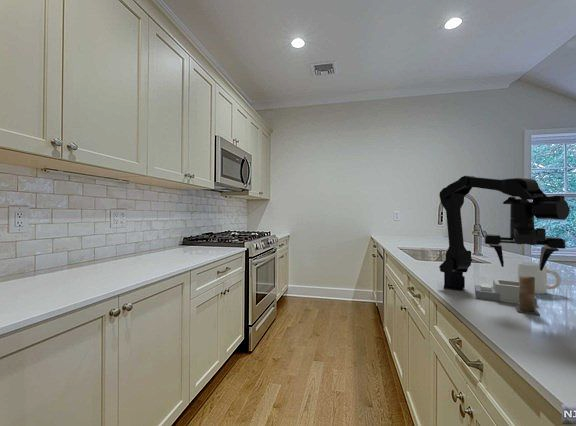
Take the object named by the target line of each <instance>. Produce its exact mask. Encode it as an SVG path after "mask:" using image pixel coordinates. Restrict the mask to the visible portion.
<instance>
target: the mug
mask: <svg viewBox="0 0 576 426" xmlns="http://www.w3.org/2000/svg"><path fill="white" fill-rule="evenodd" d="M539 264H540V262H532V261H531V262H530V261H519V262H517V281H519V276H521V275H523V276H532V277H535V295H536V294H538V295H544V294H546V293H547V292H548V291H547V290H554V289H557V288H558V287H559V286H560V285H561V282H562V278H561V276H560V274H559V273H558V272H557V271H556V270H554V269H551V268H548V266H547V264H545V266H544V268H543V270H542V271H540V268H539ZM548 274H551V275H553V276H554V278H555V283H553V284H551V285H549V284H548Z"/></svg>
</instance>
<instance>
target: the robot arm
mask: <svg viewBox="0 0 576 426" xmlns="http://www.w3.org/2000/svg"><path fill="white" fill-rule="evenodd" d="M473 188H478V189H484V190H493V191H498V192H500V193H502V194H504V195H507V196H509V197H508V198H507V199H506V200H504V201H503V202H502V204H503V205H509V206H510V211H509V212H510V213H509V215H510V217H509V218H510V219H509V221H510V222H509V226H510V227H509V228H510V229H509V237H505V236H501V235H500V234H490V233H489V234H485V235H484V244H485V245H489V247H490V248H494V249H493V250H495V252H496V254H497V257H498V260H499V262H500V263H499V264H500V265H501V268H504V266H505V265H504V264H505V263H504V256H503V247H502V245H501V243H503V244H516V245H530V246H535V245H537V246H541V249H540V255H539V263H540V264H539V268H540V271H542V270H543V268H544V266H545V265H547V264H546V263H547V262H548V260H549V258H550V257H551V255H552V254H553V253H554V252H559V251H560V249H562V250H563V249H564V250H565V249H566V240H565V239H564V238H561V237H558V236H557V237H555V236H553V237H552V236H546V234H547V233H546V232H547V231H546V229H545V228H543V227H542V228H541V227H537V228H535V218H536V219H537V220H549V221H550V220H553V221H554V220H555V221H557V220H558V221H565V220H566V219H567V218H568V217H569V215H570V207H569V204H568V202H567V200H565V197H566V196H565V195H552V196H547V194H545V192H544V191H543V190H542V189H541V188H540V186H539V182H537V180H536V179H533V178H523V177H522V178H520V177H519V178H518V177H514V178H504V179H503V178H502V179H500V178H499V179H498V178H488V177H480V176H479V177H477V176H474V175H464V176H461V177H460V178H459V179H457V180H455V181H454V182H452V183H450V184H448V185H447V186H446V187H443V188H442V189H441V190H440V191H439V194H438V195H439V199H440V204H441V205H442V207H443V208H444V210H445V212H446V213H445V214H446V215H445V216H446V227H447V235H448V248H447V250H446V252H445V259H444V261H443V262H442V263H441V264H440V265H439V271H440V272H441V273H444V274H443V275H444V276H443V278H444V279H443V280H444V281H443V282H444V283H443V288H444V289H450V290H457V291H464V289H465V288H466V287H465V285H466V284H465V283H466V282H465V279H466V278H465V275H464V273H467V272H468V269H469V267H471V265H472V262H473V259H472V251H471V250H467V248H466V247H465V244H464V233H463V222H462V221H463V220H462V214H461V212H462V211H461V208H462V206H463V205H464V203H465V197H466V196H468V194H470V191H471V190H472V189H473ZM517 197H518V198H517ZM529 200H531V201H529Z"/></svg>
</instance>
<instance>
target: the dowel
mask: <svg viewBox="0 0 576 426" xmlns="http://www.w3.org/2000/svg"><path fill="white" fill-rule="evenodd" d="M535 297H536V294H535V277H532V276H523V275H521V276H519V304H518V307H519V309H520V310H523V311H527V312H535V309H536V306H535Z"/></svg>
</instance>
